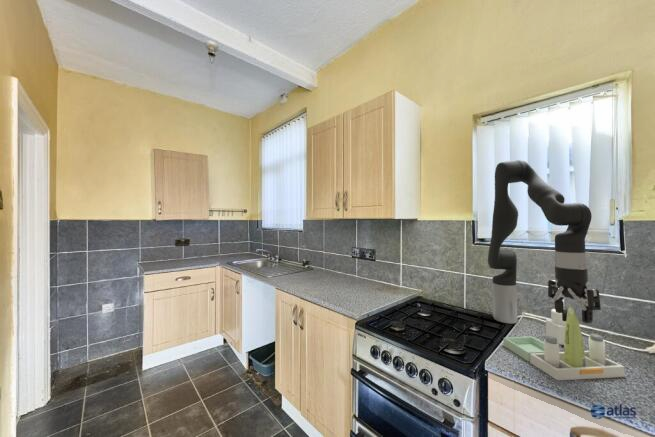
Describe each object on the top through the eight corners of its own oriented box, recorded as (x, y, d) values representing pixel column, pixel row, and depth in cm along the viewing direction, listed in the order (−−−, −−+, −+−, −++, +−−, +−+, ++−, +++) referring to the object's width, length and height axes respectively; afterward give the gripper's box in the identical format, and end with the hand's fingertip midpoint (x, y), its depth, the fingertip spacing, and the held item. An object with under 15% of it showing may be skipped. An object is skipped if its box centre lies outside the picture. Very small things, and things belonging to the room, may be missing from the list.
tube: (558, 364, 83) (555, 304, 83) (572, 363, 84) (569, 303, 84) (576, 375, 77) (574, 310, 78) (591, 373, 78) (588, 309, 78)
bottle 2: (586, 365, 82) (584, 333, 83) (596, 364, 83) (595, 333, 83) (598, 371, 79) (597, 338, 79) (609, 371, 79) (608, 338, 79)
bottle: (541, 367, 82) (540, 335, 82) (552, 367, 82) (551, 335, 82) (552, 374, 78) (550, 340, 78) (563, 373, 78) (562, 340, 78)
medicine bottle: (564, 337, 102) (563, 307, 102) (580, 345, 95) (579, 313, 95) (545, 336, 103) (544, 306, 103) (559, 345, 96) (558, 313, 96)
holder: (530, 362, 85) (530, 353, 85) (590, 359, 86) (590, 350, 86) (558, 381, 75) (558, 370, 75) (626, 377, 76) (625, 367, 76)
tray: (503, 345, 96) (503, 337, 96) (532, 344, 97) (532, 336, 97) (528, 361, 85) (528, 352, 85) (560, 360, 86) (560, 351, 86)
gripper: (539, 263, 88) (541, 310, 88) (582, 270, 74) (585, 326, 73) (560, 262, 88) (562, 309, 88) (607, 269, 74) (610, 325, 74)
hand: (572, 317), depth 81 cm, fingers open, 8 cm apart
